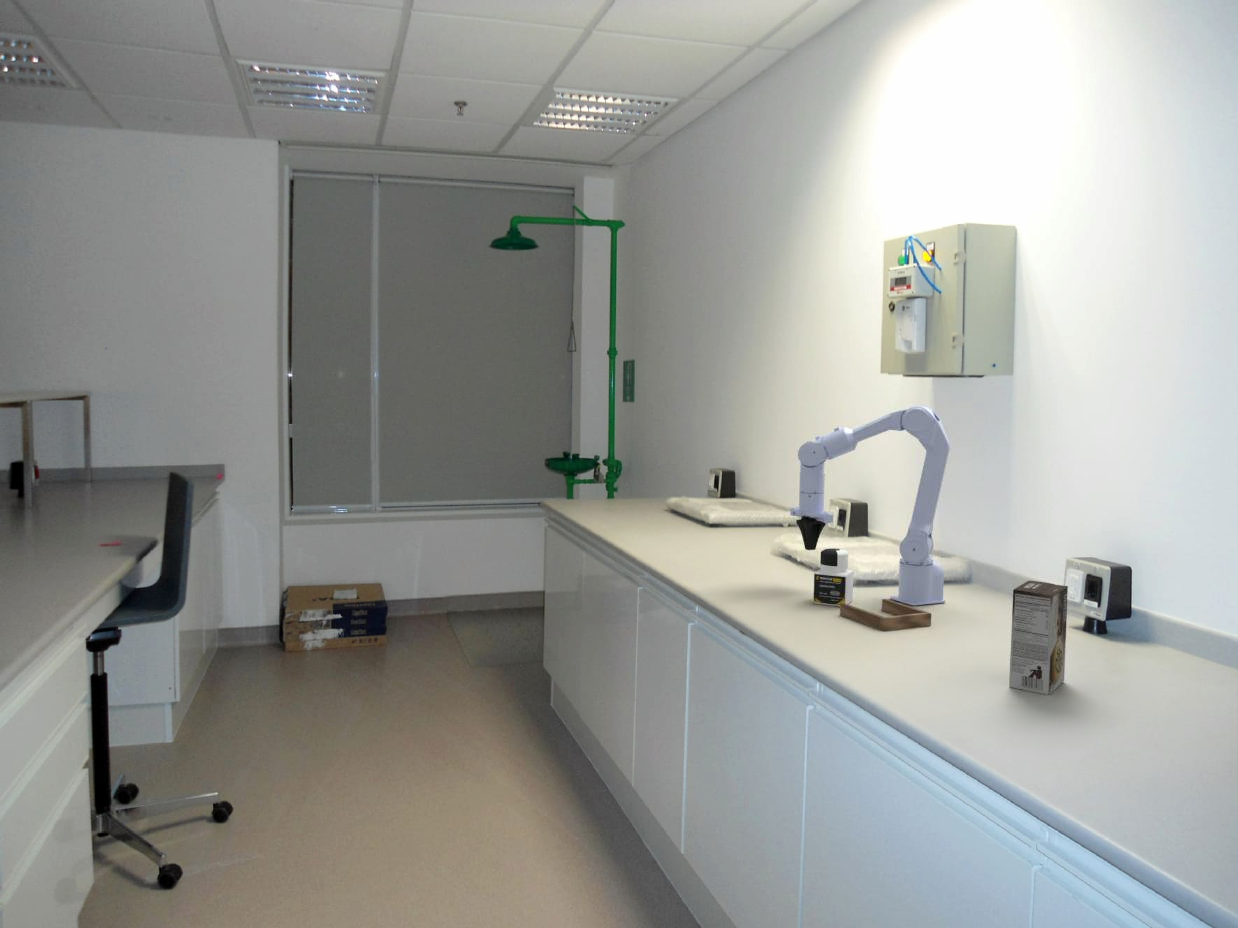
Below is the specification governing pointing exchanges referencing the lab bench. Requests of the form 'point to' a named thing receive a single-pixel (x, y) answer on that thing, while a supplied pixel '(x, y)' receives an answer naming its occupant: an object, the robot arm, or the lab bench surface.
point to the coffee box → (1038, 637)
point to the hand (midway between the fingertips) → (810, 549)
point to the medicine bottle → (833, 579)
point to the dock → (904, 618)
